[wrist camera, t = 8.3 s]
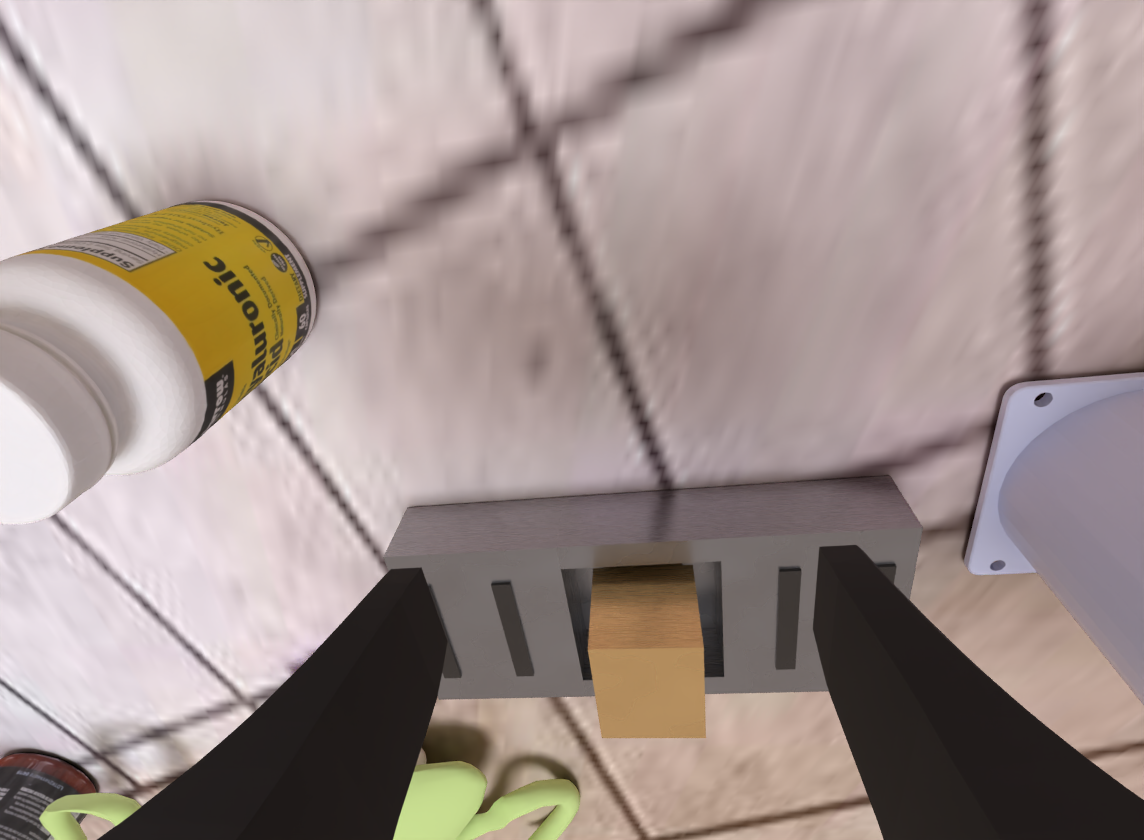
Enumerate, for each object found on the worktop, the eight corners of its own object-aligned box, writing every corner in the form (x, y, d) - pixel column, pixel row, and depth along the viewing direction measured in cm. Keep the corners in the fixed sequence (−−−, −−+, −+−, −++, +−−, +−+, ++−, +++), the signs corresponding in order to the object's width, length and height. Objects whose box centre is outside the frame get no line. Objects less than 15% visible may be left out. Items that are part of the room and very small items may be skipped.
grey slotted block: (890, 475, 22) (924, 529, 19) (867, 630, 26) (893, 692, 23) (407, 507, 24) (382, 559, 22) (454, 644, 28) (438, 702, 26)
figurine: (62, 743, 36) (-25, 849, 31) (408, 597, 27) (361, 712, 22) (285, 884, 43) (242, 987, 39) (613, 804, 35) (610, 924, 30)
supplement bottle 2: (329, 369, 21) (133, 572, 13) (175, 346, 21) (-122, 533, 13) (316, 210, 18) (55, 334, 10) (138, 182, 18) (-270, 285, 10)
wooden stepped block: (687, 527, 23) (703, 647, 18) (690, 611, 25) (705, 737, 21) (595, 531, 23) (587, 649, 19) (606, 613, 26) (601, 737, 21)
